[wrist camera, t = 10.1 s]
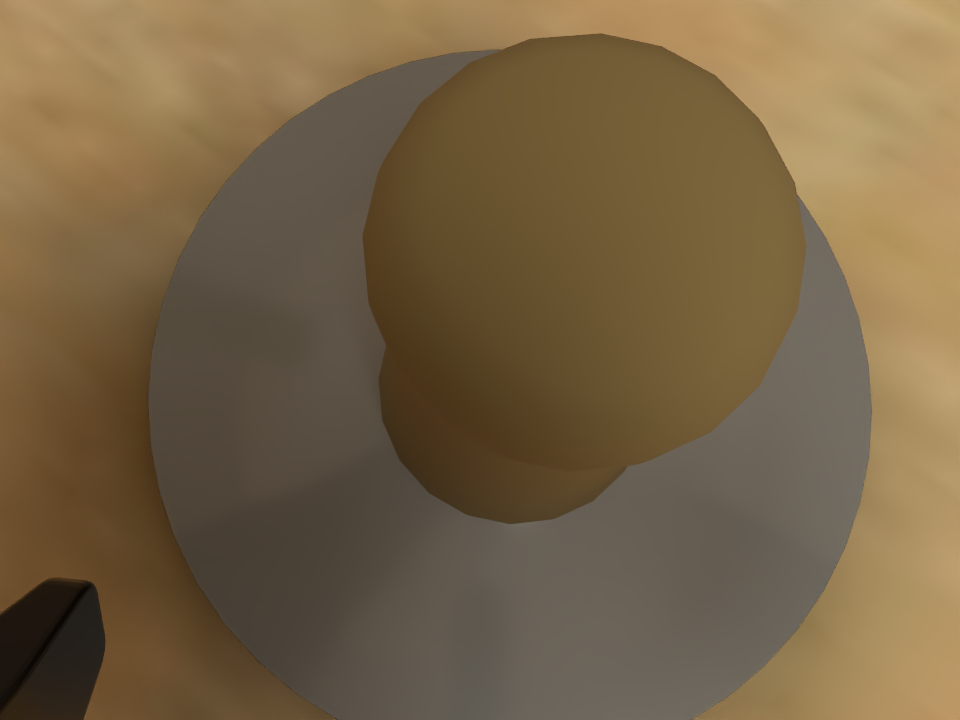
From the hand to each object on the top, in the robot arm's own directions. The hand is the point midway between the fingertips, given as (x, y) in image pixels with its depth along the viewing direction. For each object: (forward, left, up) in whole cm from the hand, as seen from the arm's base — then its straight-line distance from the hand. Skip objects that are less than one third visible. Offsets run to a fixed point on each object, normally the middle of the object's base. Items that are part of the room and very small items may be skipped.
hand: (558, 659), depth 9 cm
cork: (+2, +4, -11) cm, 12 cm away
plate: (+2, +4, -12) cm, 12 cm away
